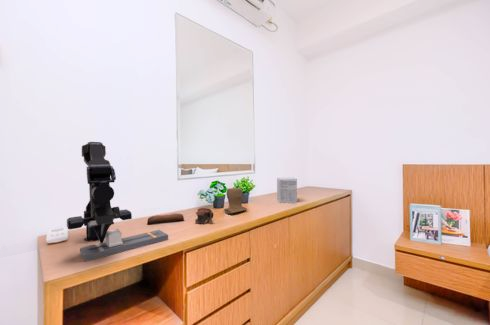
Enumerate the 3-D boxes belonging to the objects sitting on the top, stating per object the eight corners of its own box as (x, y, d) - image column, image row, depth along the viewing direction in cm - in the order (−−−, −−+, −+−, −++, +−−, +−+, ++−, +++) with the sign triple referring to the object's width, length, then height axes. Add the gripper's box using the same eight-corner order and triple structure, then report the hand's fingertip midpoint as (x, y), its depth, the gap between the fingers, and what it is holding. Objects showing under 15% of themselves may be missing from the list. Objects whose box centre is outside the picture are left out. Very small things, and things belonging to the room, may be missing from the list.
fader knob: (109, 247, 78) (108, 235, 78) (104, 242, 83) (104, 231, 83) (122, 244, 81) (122, 232, 81) (118, 239, 86) (117, 228, 86)
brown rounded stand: (236, 208, 148) (235, 185, 147) (249, 211, 140) (249, 187, 139) (218, 212, 136) (218, 188, 136) (232, 216, 128) (231, 189, 128)
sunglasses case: (182, 217, 127) (182, 208, 124) (183, 226, 121) (184, 217, 118) (147, 220, 120) (147, 211, 117) (147, 230, 115) (146, 221, 111)
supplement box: (297, 202, 164) (297, 178, 164) (279, 203, 164) (279, 179, 164) (293, 199, 177) (293, 177, 177) (277, 199, 177) (276, 177, 177)
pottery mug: (189, 224, 115) (192, 208, 119) (203, 228, 121) (205, 213, 126) (206, 221, 108) (208, 205, 113) (219, 226, 115) (221, 210, 119)
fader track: (84, 261, 72) (84, 255, 72) (80, 253, 79) (80, 247, 79) (168, 239, 92) (168, 234, 92) (159, 234, 98) (159, 229, 98)
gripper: (69, 206, 67) (70, 257, 67) (135, 198, 80) (136, 242, 80) (66, 201, 75) (67, 247, 76) (127, 194, 88) (127, 234, 88)
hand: (101, 242), depth 80 cm, fingers closed
